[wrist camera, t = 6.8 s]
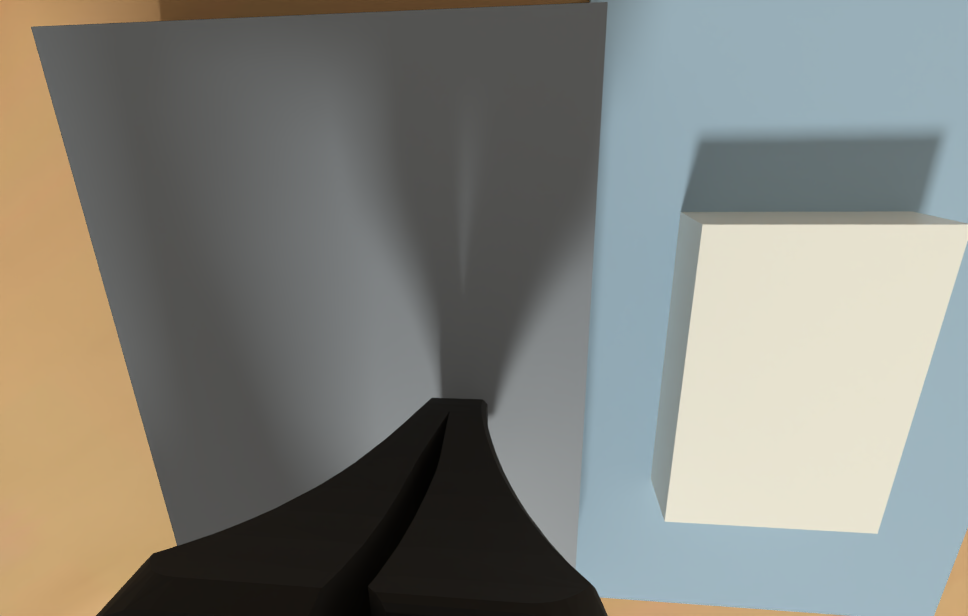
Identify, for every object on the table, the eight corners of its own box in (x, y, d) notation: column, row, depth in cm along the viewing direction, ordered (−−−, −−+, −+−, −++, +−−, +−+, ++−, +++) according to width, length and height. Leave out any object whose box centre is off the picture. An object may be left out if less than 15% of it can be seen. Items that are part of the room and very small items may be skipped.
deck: (563, 565, 19) (569, 671, 15) (265, 545, 20) (203, 639, 17) (587, 38, 13) (607, 1, 9) (163, 53, 14) (31, 26, 11)
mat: (923, 611, 18) (931, 621, 18) (562, 585, 20) (562, 594, 19) (1162, -32, 12) (1182, -37, 11) (589, -6, 13) (591, -10, 12)
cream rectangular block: (664, 521, 15) (650, 478, 17) (877, 533, 15) (838, 487, 16) (702, 224, 12) (680, 211, 14) (972, 224, 12) (911, 211, 13)
